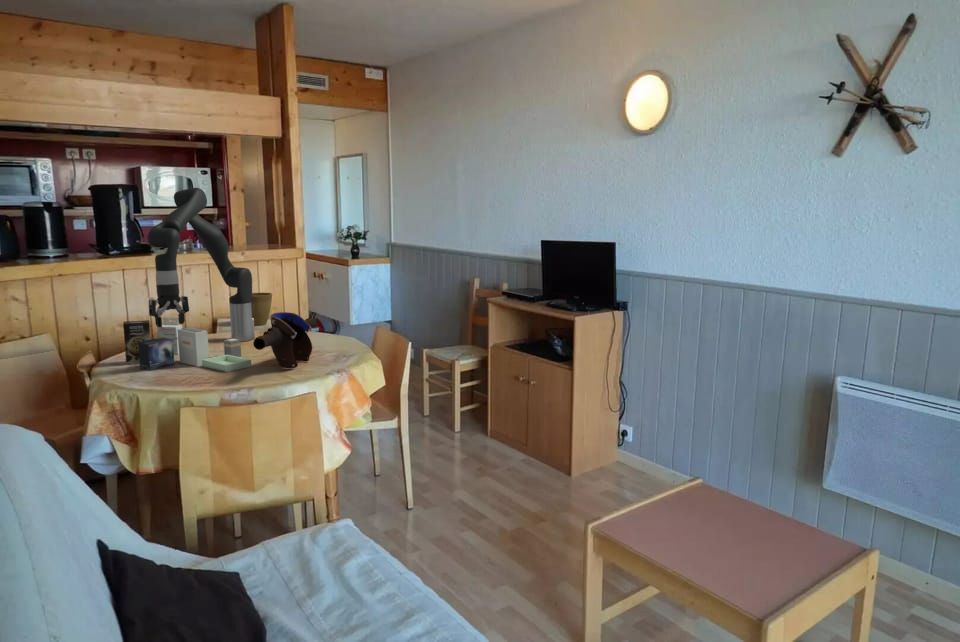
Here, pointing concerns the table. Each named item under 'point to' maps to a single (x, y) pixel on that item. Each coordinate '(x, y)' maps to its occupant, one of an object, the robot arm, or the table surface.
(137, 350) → the coffee box
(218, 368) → the tray
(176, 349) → the ink cartridge box
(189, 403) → the table surface
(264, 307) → the plant pot
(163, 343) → the small box
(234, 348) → the module
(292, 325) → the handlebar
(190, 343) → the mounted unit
